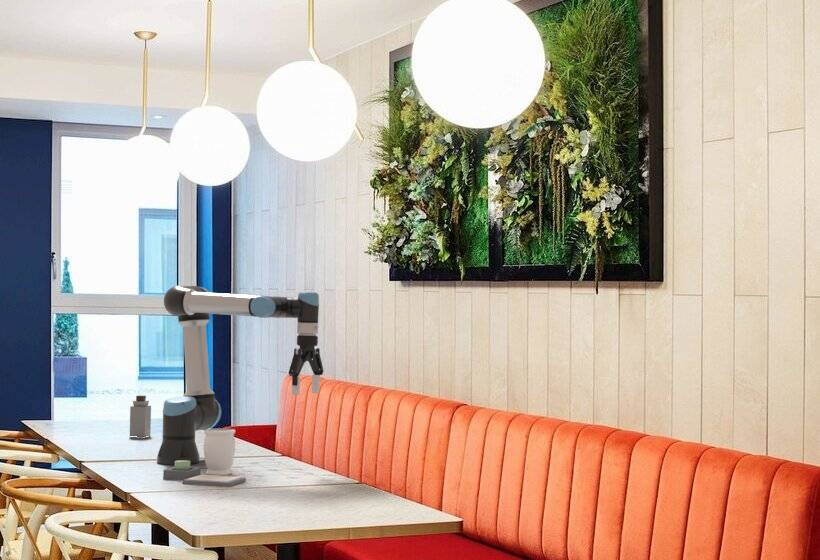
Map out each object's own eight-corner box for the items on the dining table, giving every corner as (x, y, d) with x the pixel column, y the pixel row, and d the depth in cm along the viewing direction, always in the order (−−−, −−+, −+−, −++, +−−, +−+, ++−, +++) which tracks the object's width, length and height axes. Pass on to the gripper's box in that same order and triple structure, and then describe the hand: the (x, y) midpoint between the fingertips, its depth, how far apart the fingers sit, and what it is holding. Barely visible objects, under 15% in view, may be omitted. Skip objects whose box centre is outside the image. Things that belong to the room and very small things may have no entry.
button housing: (163, 479, 364) (163, 469, 364) (176, 475, 373) (176, 466, 373) (188, 480, 362) (188, 471, 362) (200, 476, 370) (201, 467, 371)
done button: (171, 471, 366) (172, 461, 366) (179, 469, 370) (179, 459, 371) (185, 472, 364) (185, 462, 364) (192, 470, 369) (192, 460, 369)
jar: (197, 474, 375) (198, 430, 375) (212, 471, 385) (213, 427, 385) (224, 477, 371) (226, 431, 372) (240, 473, 381) (241, 429, 381)
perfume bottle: (135, 436, 488) (136, 395, 488) (150, 436, 487) (151, 395, 487) (129, 437, 481) (130, 396, 482) (144, 438, 480) (145, 396, 481)
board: (182, 483, 355) (182, 479, 355) (200, 478, 367) (200, 473, 367) (228, 486, 350) (228, 482, 350) (245, 481, 363) (245, 476, 363)
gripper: (298, 335, 390) (296, 396, 389) (333, 335, 412) (332, 392, 411) (279, 334, 393) (278, 395, 392) (316, 334, 415) (314, 391, 415)
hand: (305, 393), depth 402 cm, fingers open, 13 cm apart
